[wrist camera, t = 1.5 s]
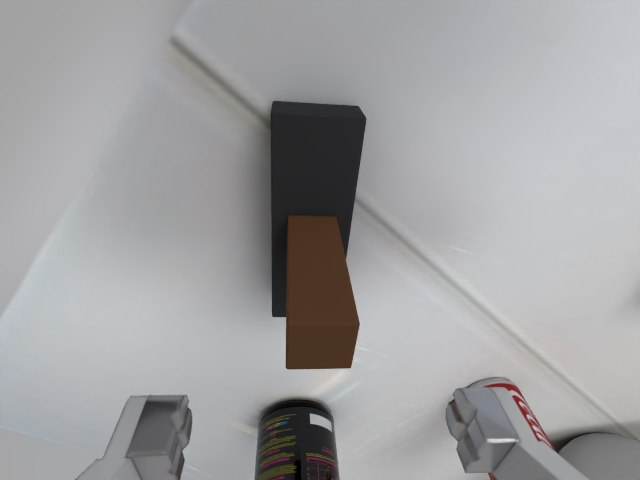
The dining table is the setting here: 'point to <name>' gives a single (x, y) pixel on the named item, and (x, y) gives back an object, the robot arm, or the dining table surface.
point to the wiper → (314, 229)
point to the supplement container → (296, 443)
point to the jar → (604, 456)
